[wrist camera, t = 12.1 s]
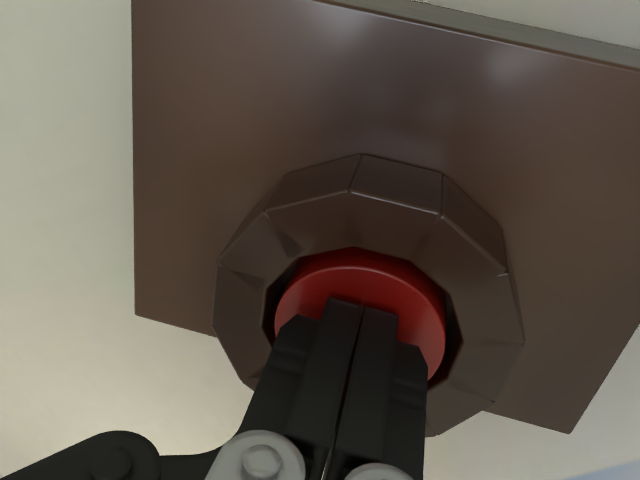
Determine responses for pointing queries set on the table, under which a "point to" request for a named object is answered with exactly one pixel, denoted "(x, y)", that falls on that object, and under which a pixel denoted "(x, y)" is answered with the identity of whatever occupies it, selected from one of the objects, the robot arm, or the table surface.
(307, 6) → the block
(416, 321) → the button
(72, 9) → the table surface
